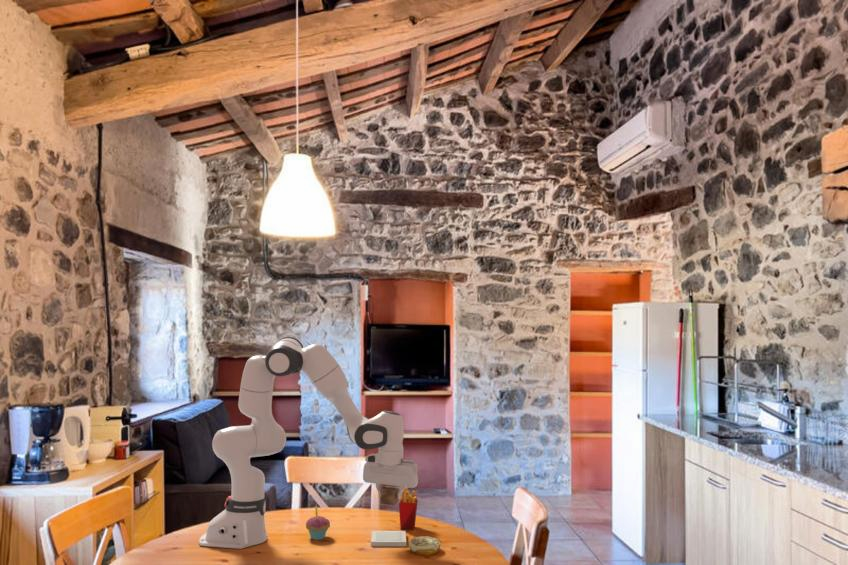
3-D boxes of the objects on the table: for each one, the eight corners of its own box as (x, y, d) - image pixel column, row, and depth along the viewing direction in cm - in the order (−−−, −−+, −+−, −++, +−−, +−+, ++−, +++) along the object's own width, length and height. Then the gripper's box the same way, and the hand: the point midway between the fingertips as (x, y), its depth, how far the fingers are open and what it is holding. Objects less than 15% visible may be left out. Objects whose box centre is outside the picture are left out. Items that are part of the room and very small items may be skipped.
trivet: (370, 546, 222) (371, 541, 222) (371, 535, 234) (371, 530, 234) (406, 546, 223) (406, 541, 223) (405, 535, 235) (405, 530, 235)
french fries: (417, 525, 246) (418, 485, 247) (415, 532, 238) (416, 490, 239) (394, 524, 247) (395, 484, 248) (391, 531, 239) (392, 489, 240)
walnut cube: (380, 503, 227) (380, 488, 228) (385, 500, 232) (385, 485, 232) (393, 505, 226) (394, 490, 226) (398, 501, 230) (399, 487, 231)
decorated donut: (409, 557, 213) (409, 545, 214) (408, 546, 224) (408, 534, 224) (441, 556, 214) (441, 544, 214) (438, 545, 225) (438, 534, 225)
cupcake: (324, 542, 225) (325, 506, 226) (301, 540, 227) (302, 504, 228) (332, 534, 233) (333, 500, 234) (310, 532, 235) (311, 498, 236)
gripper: (421, 459, 229) (420, 499, 228) (369, 453, 237) (368, 492, 236) (413, 462, 223) (412, 503, 222) (361, 456, 231) (360, 496, 230)
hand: (389, 497), depth 229 cm, fingers closed on walnut cube, 5 cm apart
